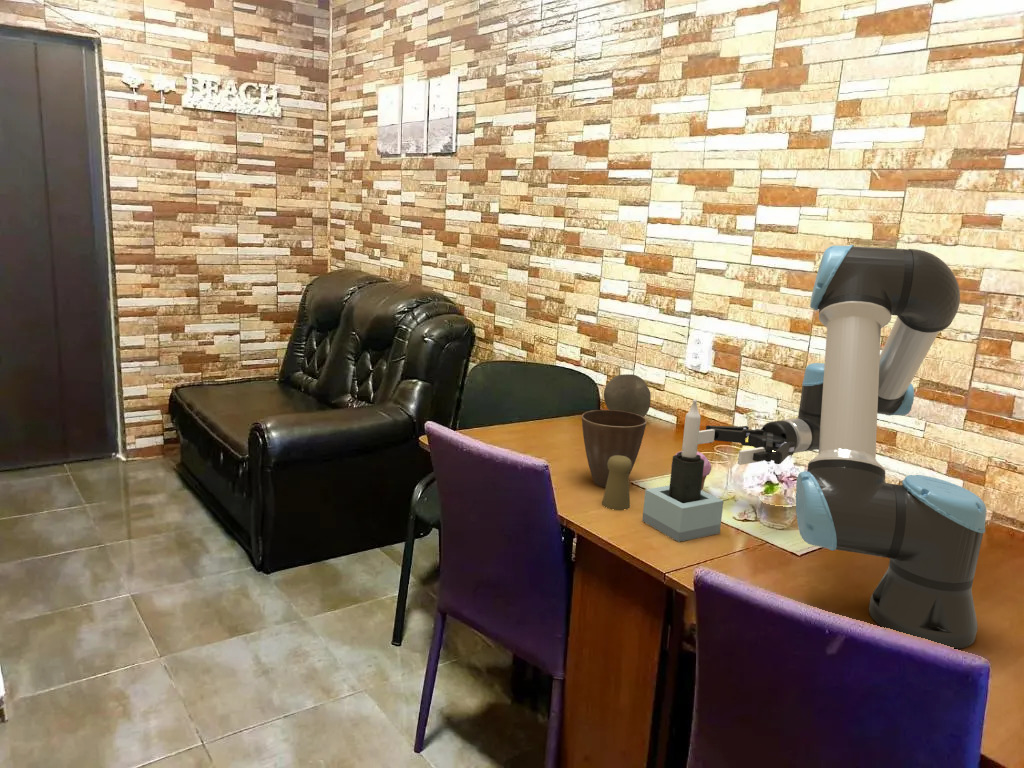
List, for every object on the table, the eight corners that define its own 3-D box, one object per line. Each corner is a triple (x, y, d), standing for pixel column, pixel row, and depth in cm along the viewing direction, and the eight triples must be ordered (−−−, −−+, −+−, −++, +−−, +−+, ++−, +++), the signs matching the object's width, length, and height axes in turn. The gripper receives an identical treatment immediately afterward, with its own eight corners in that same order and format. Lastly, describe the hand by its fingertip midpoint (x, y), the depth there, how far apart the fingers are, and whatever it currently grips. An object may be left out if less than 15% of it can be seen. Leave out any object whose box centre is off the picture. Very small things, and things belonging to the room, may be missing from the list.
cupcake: (691, 502, 167) (696, 459, 164) (661, 490, 173) (665, 449, 171) (715, 494, 172) (720, 453, 170) (684, 483, 179) (689, 443, 177)
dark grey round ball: (623, 413, 241) (627, 368, 238) (657, 424, 231) (662, 377, 227) (593, 419, 232) (596, 372, 229) (627, 430, 222) (631, 381, 218)
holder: (719, 533, 150) (723, 500, 149) (678, 542, 145) (682, 508, 143) (682, 513, 160) (685, 482, 158) (642, 521, 154) (645, 489, 153)
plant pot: (591, 496, 167) (596, 427, 163) (567, 473, 181) (572, 410, 177) (651, 492, 171) (658, 425, 168) (624, 471, 185) (629, 408, 181)
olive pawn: (629, 511, 159) (633, 462, 156) (600, 508, 160) (605, 459, 158) (630, 501, 165) (635, 454, 162) (603, 498, 166) (607, 451, 163)
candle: (664, 514, 153) (676, 396, 147) (683, 511, 155) (696, 395, 150) (679, 524, 148) (693, 402, 143) (699, 521, 151) (713, 401, 145)
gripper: (831, 471, 153) (759, 485, 143) (739, 438, 174) (670, 447, 163) (836, 436, 152) (764, 447, 141) (742, 407, 173) (674, 414, 162)
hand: (714, 447), depth 152 cm, fingers open, 13 cm apart
